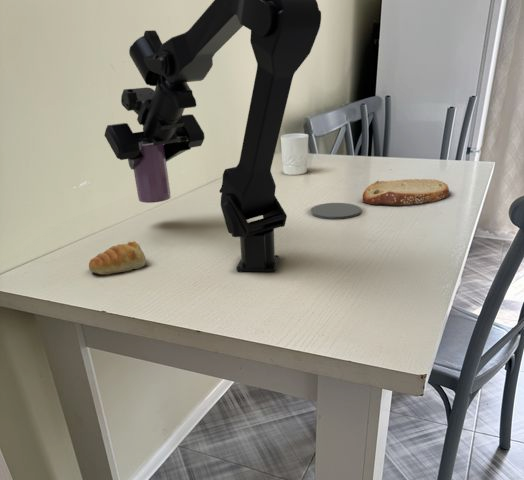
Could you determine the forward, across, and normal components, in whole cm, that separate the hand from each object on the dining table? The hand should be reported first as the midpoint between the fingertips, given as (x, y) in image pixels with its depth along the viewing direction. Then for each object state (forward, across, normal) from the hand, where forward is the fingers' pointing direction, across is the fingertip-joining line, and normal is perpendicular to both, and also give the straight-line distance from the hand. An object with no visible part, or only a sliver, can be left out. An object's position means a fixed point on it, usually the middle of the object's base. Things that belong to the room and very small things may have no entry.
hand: (146, 164), depth 104 cm
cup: (+4, 0, +6) cm, 7 cm away
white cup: (+18, -54, -1) cm, 57 cm away
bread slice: (-10, -52, +28) cm, 60 cm away
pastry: (-3, +17, +21) cm, 28 cm away
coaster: (-7, -32, +25) cm, 41 cm away
